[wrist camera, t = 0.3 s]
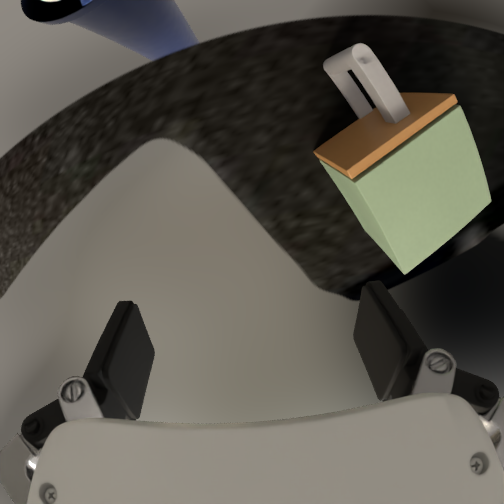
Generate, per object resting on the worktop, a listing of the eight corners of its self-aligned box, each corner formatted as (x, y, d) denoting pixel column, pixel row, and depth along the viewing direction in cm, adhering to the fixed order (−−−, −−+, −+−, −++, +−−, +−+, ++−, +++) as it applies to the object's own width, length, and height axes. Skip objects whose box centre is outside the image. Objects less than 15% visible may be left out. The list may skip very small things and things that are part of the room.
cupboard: (311, 154, 30) (354, 183, 19) (388, 100, 27) (460, 105, 16) (354, 219, 34) (404, 274, 23) (423, 168, 31) (491, 201, 20)
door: (267, 98, 27) (286, 88, 16) (351, 44, 24) (410, 17, 13) (309, 153, 30) (352, 179, 19) (388, 98, 27) (458, 102, 16)
